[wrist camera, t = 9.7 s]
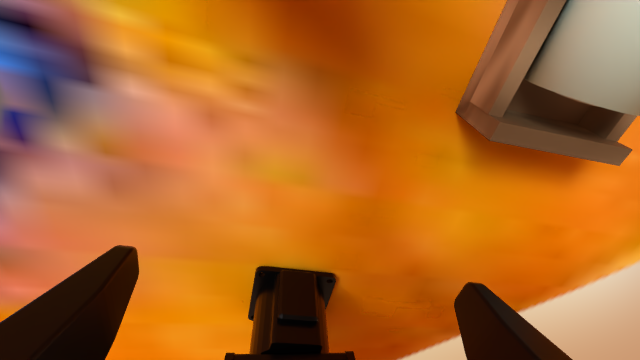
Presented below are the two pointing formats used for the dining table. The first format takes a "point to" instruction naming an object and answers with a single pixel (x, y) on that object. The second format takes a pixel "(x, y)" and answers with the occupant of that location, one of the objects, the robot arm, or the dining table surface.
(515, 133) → the tray
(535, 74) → the roll
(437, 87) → the dining table surface
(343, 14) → the dining table surface
